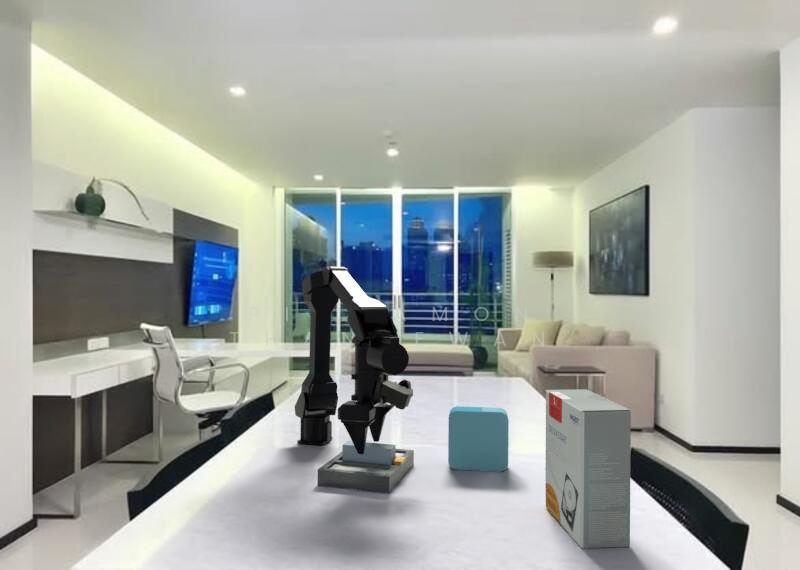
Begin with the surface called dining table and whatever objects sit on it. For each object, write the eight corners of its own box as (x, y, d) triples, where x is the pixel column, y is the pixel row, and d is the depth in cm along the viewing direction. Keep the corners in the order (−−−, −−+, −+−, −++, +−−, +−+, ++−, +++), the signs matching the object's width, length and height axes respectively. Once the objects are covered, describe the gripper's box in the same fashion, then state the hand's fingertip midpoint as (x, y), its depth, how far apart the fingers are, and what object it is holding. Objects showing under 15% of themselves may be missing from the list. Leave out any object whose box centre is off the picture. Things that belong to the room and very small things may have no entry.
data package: (507, 465, 119) (507, 407, 119) (508, 472, 114) (508, 412, 114) (449, 462, 120) (449, 405, 120) (448, 469, 116) (448, 410, 116)
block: (342, 475, 112) (342, 444, 112) (347, 470, 115) (348, 440, 115) (390, 480, 109) (391, 448, 109) (395, 475, 112) (395, 444, 112)
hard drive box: (543, 507, 96) (544, 389, 96) (587, 506, 97) (588, 388, 97) (580, 550, 80) (581, 408, 81) (632, 548, 81) (633, 408, 81)
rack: (317, 485, 106) (317, 466, 106) (351, 458, 122) (351, 441, 122) (390, 493, 102) (390, 473, 102) (414, 464, 118) (414, 447, 118)
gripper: (395, 377, 101) (394, 465, 101) (420, 363, 119) (420, 438, 119) (336, 374, 104) (336, 459, 104) (370, 361, 122) (369, 434, 122)
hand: (368, 447), depth 112 cm, fingers open, 9 cm apart
